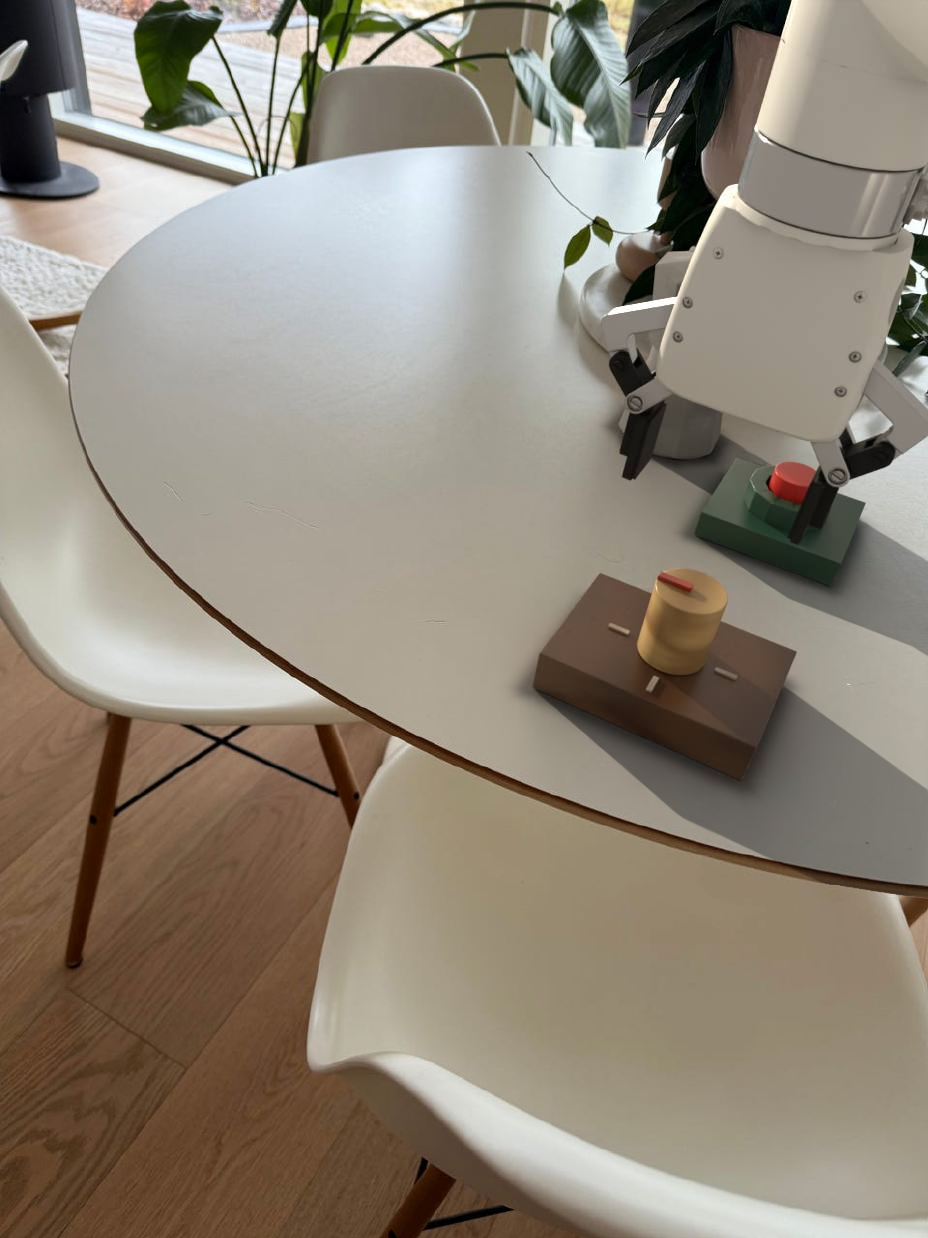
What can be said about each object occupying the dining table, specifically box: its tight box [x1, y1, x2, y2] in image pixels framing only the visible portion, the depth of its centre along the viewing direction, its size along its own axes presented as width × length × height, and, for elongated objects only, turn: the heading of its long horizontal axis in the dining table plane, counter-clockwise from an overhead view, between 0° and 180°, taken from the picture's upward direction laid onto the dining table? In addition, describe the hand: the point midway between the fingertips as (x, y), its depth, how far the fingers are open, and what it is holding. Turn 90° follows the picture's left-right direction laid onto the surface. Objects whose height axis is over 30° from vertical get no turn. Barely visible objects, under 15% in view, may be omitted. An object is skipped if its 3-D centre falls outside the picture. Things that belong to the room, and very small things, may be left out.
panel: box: [531, 572, 797, 781], centre depth 64 cm, size 14×10×3 cm
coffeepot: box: [618, 245, 724, 460], centre depth 84 cm, size 15×9×18 cm, turn 178°
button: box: [769, 461, 817, 503], centre depth 78 cm, size 4×4×2 cm
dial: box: [637, 567, 729, 675], centre depth 62 cm, size 4×4×5 cm
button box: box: [693, 457, 866, 587], centre depth 80 cm, size 11×10×4 cm
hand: (715, 499), depth 56 cm, fingers open, 9 cm apart
